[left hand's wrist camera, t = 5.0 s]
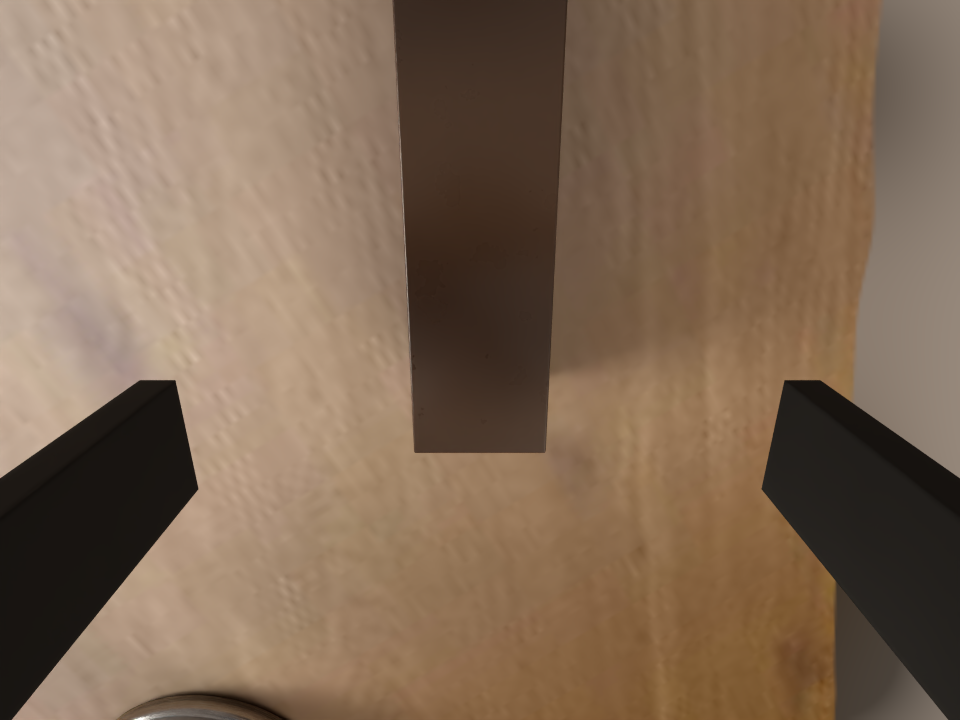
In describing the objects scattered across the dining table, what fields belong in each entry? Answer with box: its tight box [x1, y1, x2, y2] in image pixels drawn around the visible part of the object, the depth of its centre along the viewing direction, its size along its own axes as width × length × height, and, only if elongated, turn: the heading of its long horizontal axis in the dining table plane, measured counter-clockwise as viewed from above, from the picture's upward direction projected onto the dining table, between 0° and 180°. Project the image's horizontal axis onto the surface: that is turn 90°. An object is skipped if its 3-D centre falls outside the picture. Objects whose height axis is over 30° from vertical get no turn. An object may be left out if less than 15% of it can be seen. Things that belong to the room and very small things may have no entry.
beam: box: [393, 0, 567, 453], centre depth 19 cm, size 30×5×7 cm, turn 0°
